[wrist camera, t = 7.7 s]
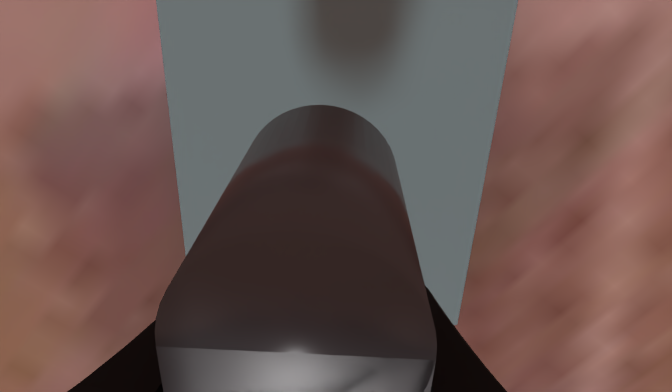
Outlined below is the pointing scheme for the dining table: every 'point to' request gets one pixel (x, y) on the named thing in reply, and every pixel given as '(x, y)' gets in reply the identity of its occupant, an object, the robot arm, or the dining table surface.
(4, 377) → the dining table surface
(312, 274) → the connector plug
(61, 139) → the dining table surface
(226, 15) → the rubber mat
